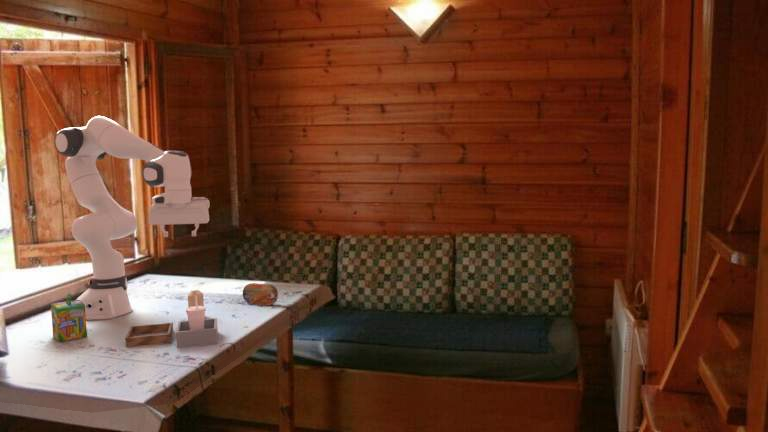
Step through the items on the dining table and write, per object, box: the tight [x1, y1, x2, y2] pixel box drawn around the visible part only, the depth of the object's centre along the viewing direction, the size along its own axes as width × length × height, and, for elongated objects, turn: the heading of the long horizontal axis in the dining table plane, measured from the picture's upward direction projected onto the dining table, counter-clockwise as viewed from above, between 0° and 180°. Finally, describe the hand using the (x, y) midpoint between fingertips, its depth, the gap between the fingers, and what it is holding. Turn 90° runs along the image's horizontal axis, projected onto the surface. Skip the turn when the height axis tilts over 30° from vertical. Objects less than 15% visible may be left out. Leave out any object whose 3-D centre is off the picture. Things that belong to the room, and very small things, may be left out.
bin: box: [175, 317, 219, 349], centre depth 216 cm, size 13×13×5 cm
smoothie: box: [185, 295, 207, 330], centre depth 216 cm, size 6×6×14 cm
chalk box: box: [50, 293, 88, 343], centre depth 222 cm, size 9×9×15 cm
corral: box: [124, 322, 174, 348], centre depth 219 cm, size 14×14×3 cm
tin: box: [242, 282, 279, 307], centre depth 259 cm, size 15×3×8 cm, turn 68°
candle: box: [187, 289, 205, 308], centre depth 243 cm, size 6×6×10 cm
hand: (180, 236), depth 230 cm, fingers open, 8 cm apart
